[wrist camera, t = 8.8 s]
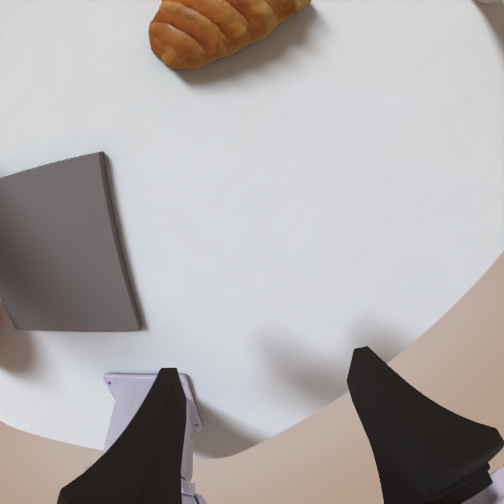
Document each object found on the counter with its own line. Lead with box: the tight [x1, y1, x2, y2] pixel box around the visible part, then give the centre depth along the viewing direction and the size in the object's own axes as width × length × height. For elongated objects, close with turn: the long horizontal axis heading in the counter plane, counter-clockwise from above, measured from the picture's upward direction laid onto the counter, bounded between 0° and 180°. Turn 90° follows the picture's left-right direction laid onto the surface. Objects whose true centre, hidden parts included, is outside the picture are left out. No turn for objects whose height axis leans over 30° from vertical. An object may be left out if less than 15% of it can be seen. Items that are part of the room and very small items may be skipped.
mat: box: [0, 152, 142, 332], centre depth 18 cm, size 13×13×1 cm
